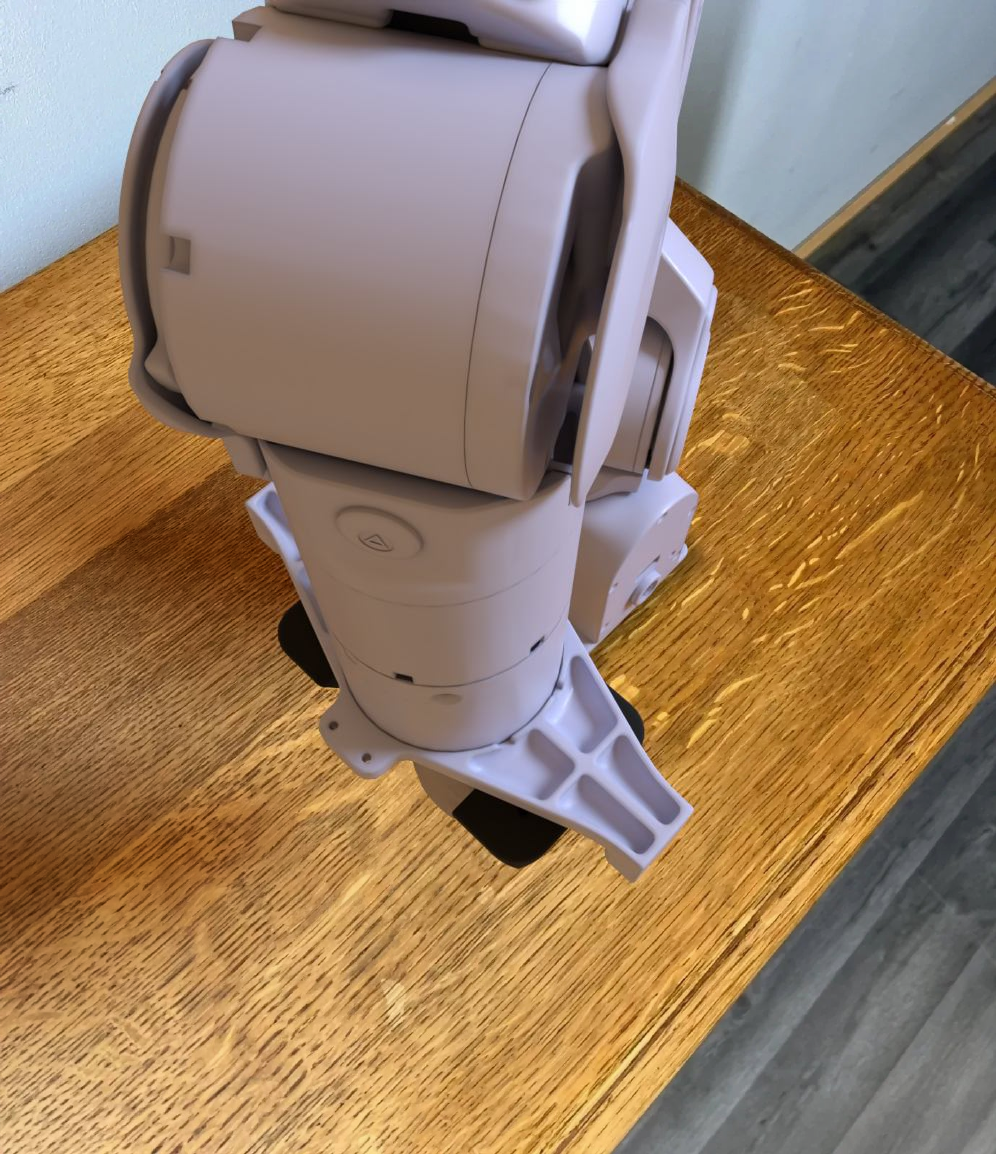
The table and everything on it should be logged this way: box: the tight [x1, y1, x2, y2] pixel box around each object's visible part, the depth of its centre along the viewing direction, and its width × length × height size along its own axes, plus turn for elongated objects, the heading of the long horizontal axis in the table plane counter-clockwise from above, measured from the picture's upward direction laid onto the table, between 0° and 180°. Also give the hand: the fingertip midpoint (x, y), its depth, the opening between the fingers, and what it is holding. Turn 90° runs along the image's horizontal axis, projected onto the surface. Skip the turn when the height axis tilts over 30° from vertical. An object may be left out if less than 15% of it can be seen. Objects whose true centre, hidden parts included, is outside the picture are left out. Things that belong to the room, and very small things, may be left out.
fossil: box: [412, 761, 475, 820], centre depth 33 cm, size 6×4×10 cm, turn 178°
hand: (463, 750), depth 34 cm, fingers closed on fossil, 5 cm apart
